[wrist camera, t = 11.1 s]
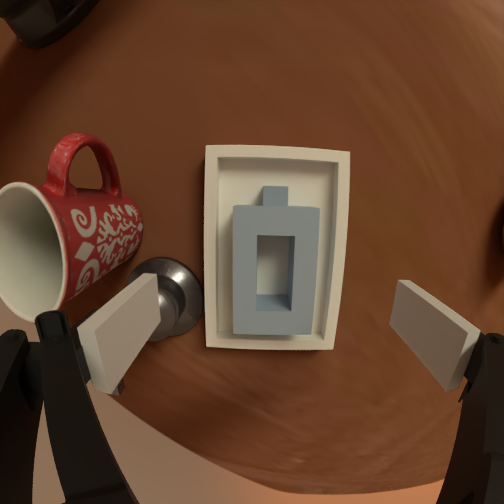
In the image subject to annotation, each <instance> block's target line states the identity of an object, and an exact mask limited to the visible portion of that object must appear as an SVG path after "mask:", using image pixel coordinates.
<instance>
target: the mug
mask: <svg viewBox="0 0 504 504" xmlns="http://www.w3.org/2000/svg"><path fill="white" fill-rule="evenodd" d="M85 146H89V147H90V148H91V149H92V151H93V152H94V154H95V156H96V159H97V162H98V164H99V167H100V170H101V174H102V179H103V185H102V188H101V189H99V190H98V189H85V188H75V187H74V186H73V185H72V184H70V182H69V176H68V173H69V168H70V164H71V162H72V159H73V158H74V156H75V154H76V153H77V152H78V151H79V150H80V149H81V148H83V147H85ZM142 235H143V222H142V217H141V214H140V211H139V209H138V207H137V205H136V204H135V202H134V201H133V200H132V199H131V198H130V197H128V196H127V195H126V194H124V193H122V192H121V187H120V179H119V175H118V170H117V166H116V163H115V160H114V157H113V155H112V152H111V150H110V148H109V147H108V146H107V144H106V143H105V142H104V141H102V140H101V139H100V138H98V137H96V136H93V135H90V134H85V133H72V134H69V135H67V136H65V137H63V138H62V139H61V140H60V141H59V142H58V144H57V145H56V146H55V148H54V149H53V151H52V153H51V156H50V159H49V163H48V168H47V180H46V184H45V185H44V186H34V185H31V184H29V183H26V182H13V183H10V184H8V185H5V186H4V187H3V188H2V189H1V190H0V297H1V299H2V300H3V302H4V303H5V304H6V306H7V307H8V308H9V309H10V310H11V311H12V312H13V313H15V314H16V315H17V316H19V317H20V318H22V319H24V320H26V321H29V322H33V323H35V321H34V320H35V318H36V316H38V315H39V314H41V313H43V312H46V311H50V310H59V309H60V308H61V306H62V305H64V304H65V303H67V302H68V301H69V300H71V299H72V298H73V297H75V296H76V295H77V294H79V293H80V292H81V291H83V290H84V289H86V288H87V287H88V286H90V285H91V284H93V283H94V282H95V281H97V280H98V279H100V278H101V277H102V276H104V275H105V274H107V273H108V272H110V271H111V270H112V269H114V268H115V267H117V266H118V265H120V264H121V263H123V262H125V261H126V260H128V259H129V258H130V257H131V256H132V255H133V254H134V253H135V252H136V251H137V249H138V247H139V245H140V243H141V240H142Z"/></svg>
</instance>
